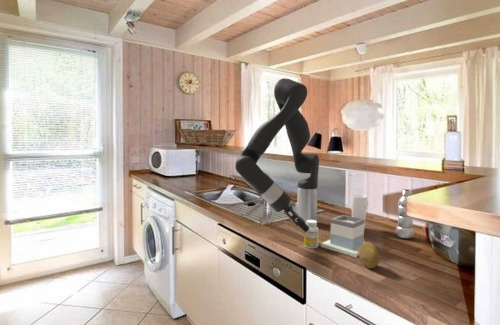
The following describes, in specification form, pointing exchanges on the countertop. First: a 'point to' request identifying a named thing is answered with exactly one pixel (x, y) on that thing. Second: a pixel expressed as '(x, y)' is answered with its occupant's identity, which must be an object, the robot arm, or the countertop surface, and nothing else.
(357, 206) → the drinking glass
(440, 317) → the countertop surface
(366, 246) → the potato
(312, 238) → the supplement bottle
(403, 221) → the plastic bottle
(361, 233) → the brick tower
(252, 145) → the robot arm
